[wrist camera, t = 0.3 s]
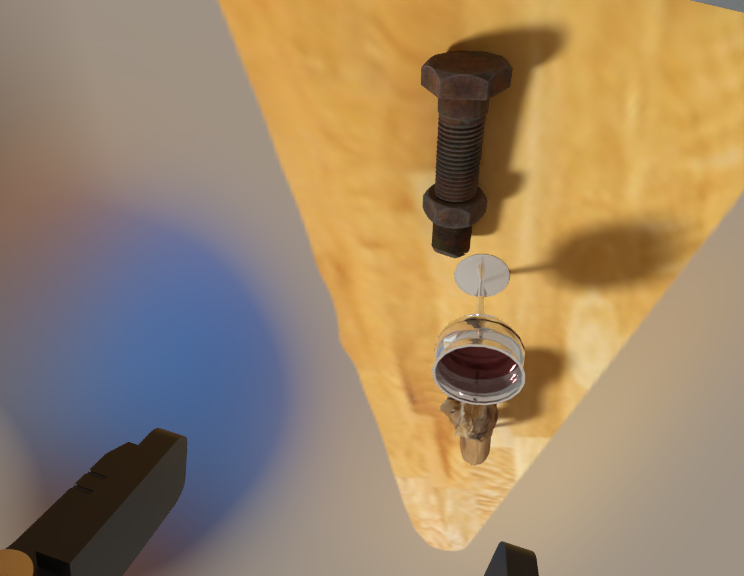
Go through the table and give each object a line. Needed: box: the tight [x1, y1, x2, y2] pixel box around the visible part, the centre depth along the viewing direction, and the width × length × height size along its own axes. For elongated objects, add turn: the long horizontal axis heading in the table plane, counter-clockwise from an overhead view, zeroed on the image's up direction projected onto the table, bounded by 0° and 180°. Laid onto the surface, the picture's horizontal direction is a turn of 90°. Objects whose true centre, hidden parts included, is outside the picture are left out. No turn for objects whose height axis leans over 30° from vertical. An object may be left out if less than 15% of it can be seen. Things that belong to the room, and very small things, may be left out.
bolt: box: [421, 51, 512, 258], centre depth 35 cm, size 6×5×15 cm
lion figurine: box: [439, 396, 498, 465], centre depth 51 cm, size 15×5×9 cm, turn 16°
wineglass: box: [432, 254, 525, 405], centre depth 39 cm, size 7×7×12 cm
